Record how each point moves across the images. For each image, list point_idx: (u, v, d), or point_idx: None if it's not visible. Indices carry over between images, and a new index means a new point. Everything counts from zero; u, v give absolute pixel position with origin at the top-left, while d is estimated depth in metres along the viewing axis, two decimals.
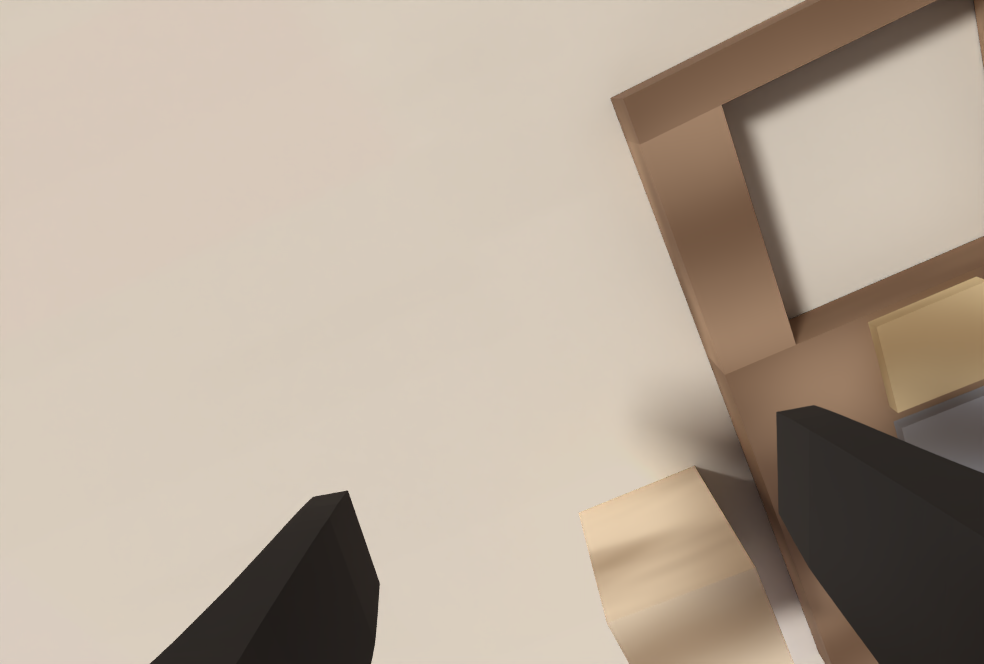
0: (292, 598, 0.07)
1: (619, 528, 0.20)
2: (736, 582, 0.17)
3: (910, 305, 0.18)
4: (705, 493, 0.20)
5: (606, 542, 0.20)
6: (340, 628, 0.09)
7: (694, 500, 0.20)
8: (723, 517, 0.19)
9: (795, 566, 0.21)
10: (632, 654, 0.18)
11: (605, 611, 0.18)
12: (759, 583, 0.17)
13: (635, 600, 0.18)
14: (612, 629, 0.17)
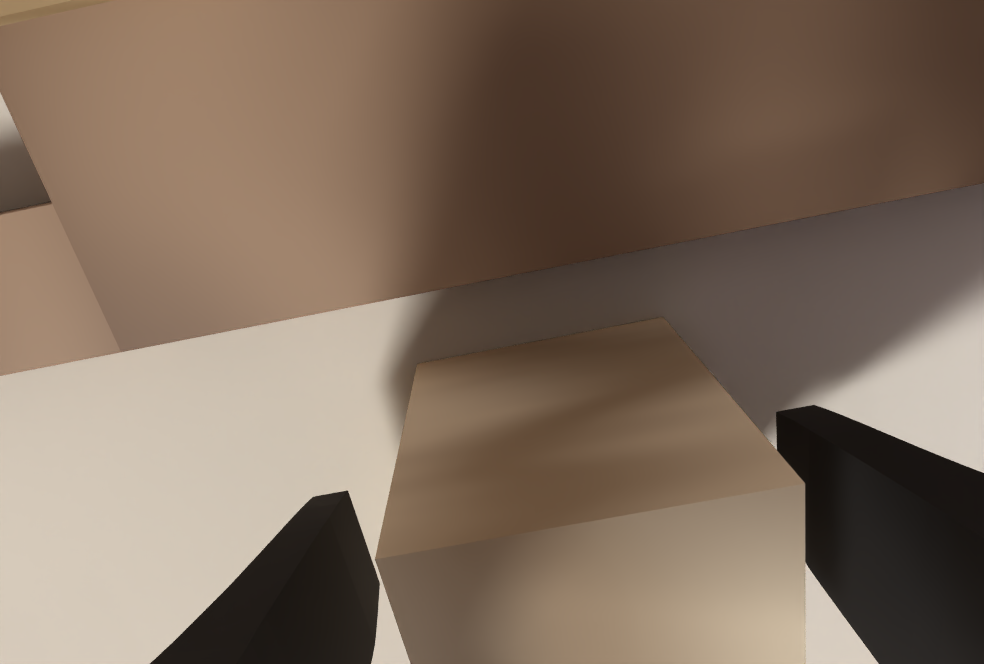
0: (292, 598, 0.07)
1: None
2: (414, 600, 0.07)
3: None
4: None
5: None
6: (340, 628, 0.09)
7: None
8: (400, 450, 0.08)
9: (682, 239, 0.09)
10: None
11: None
12: (432, 555, 0.06)
13: None
14: None
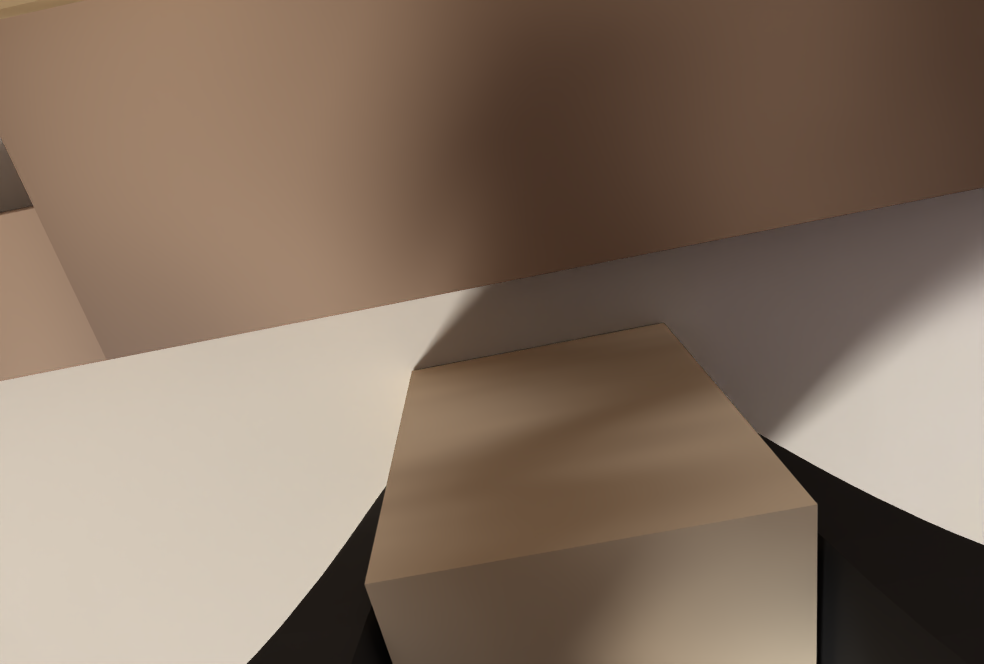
0: None
1: None
2: (406, 626, 0.06)
3: None
4: None
5: None
6: None
7: None
8: (393, 464, 0.08)
9: (683, 244, 0.08)
10: None
11: None
12: (424, 580, 0.06)
13: None
14: None
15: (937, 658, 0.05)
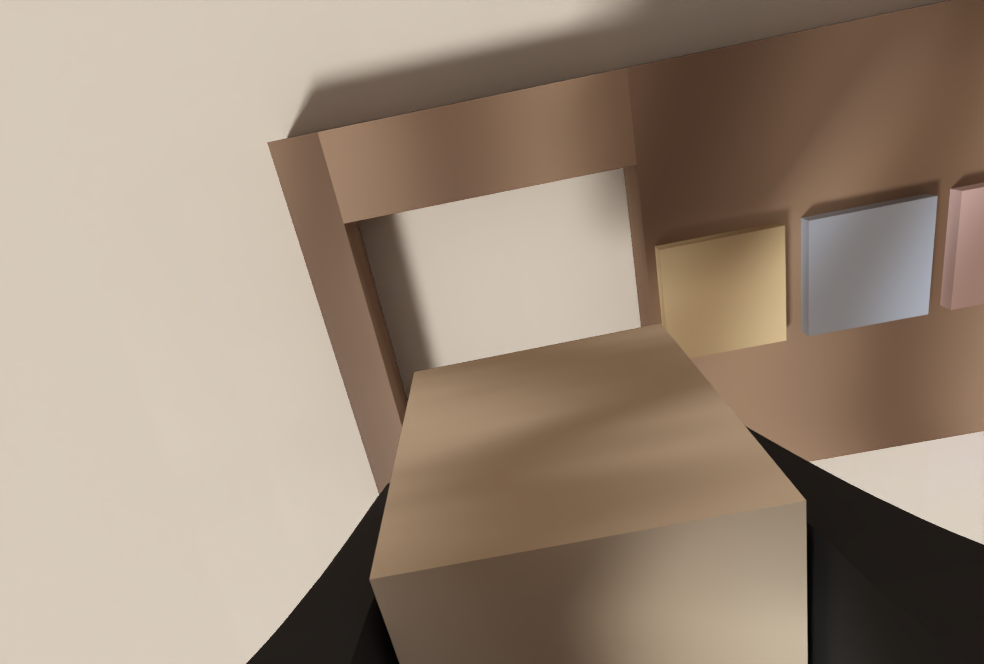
0: None
1: None
2: (409, 620, 0.06)
3: (662, 316, 0.16)
4: None
5: None
6: None
7: None
8: (396, 463, 0.08)
9: (948, 435, 0.18)
10: None
11: None
12: (427, 575, 0.06)
13: None
14: None
15: (937, 658, 0.05)
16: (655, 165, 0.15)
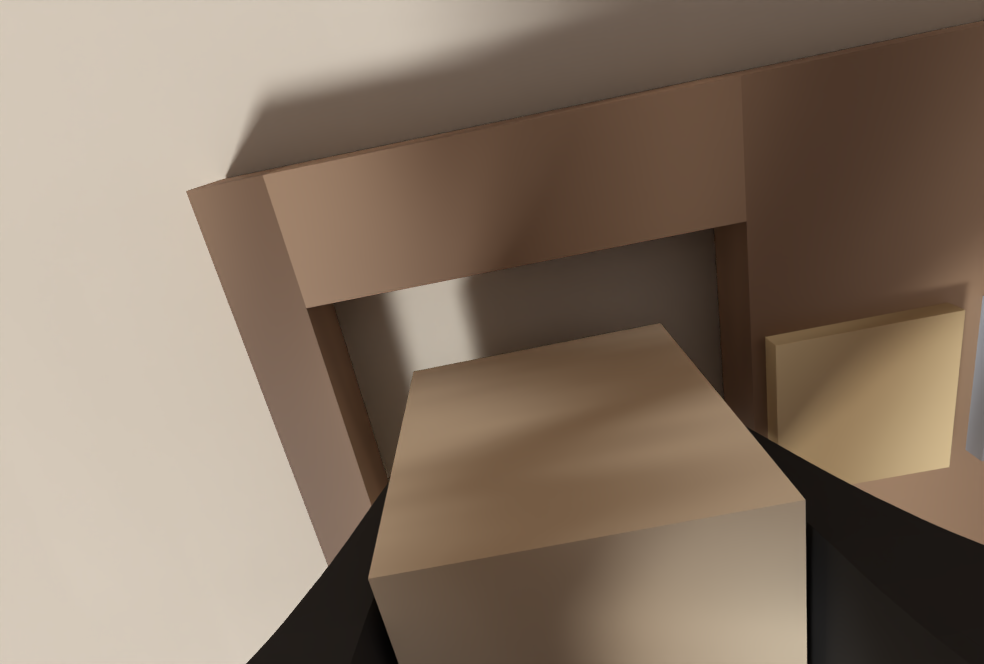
0: None
1: None
2: (408, 619, 0.06)
3: (770, 432, 0.11)
4: None
5: None
6: None
7: None
8: (395, 463, 0.08)
9: None
10: None
11: None
12: (426, 575, 0.06)
13: None
14: None
15: (936, 658, 0.05)
16: (774, 222, 0.10)
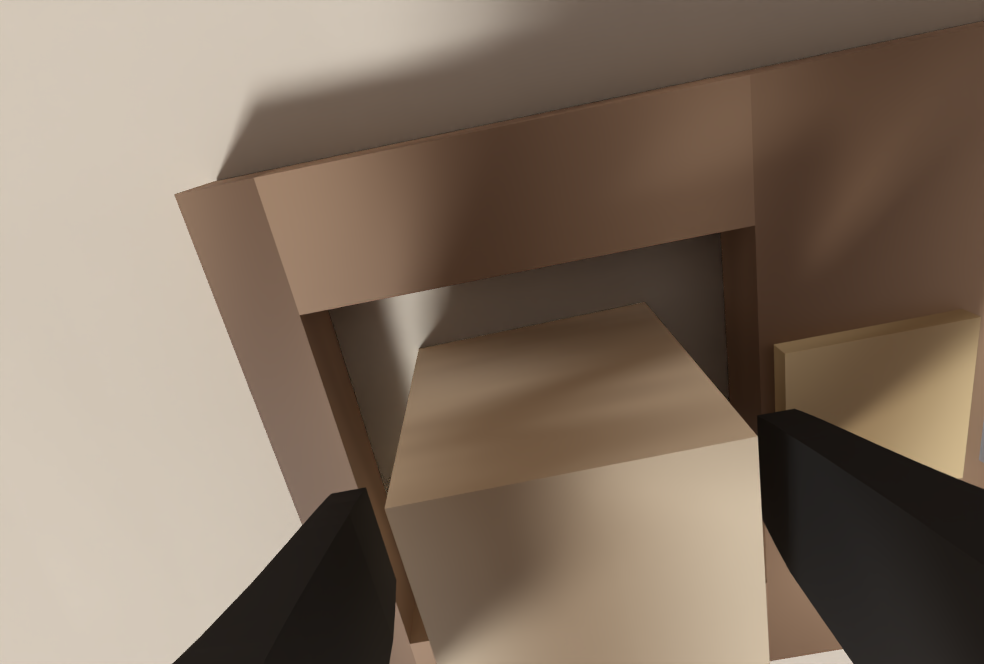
0: (316, 594, 0.07)
1: None
2: (419, 546, 0.07)
3: None
4: None
5: None
6: (361, 625, 0.09)
7: None
8: (404, 421, 0.09)
9: None
10: None
11: None
12: (434, 504, 0.07)
13: None
14: None
15: None
16: (784, 226, 0.10)
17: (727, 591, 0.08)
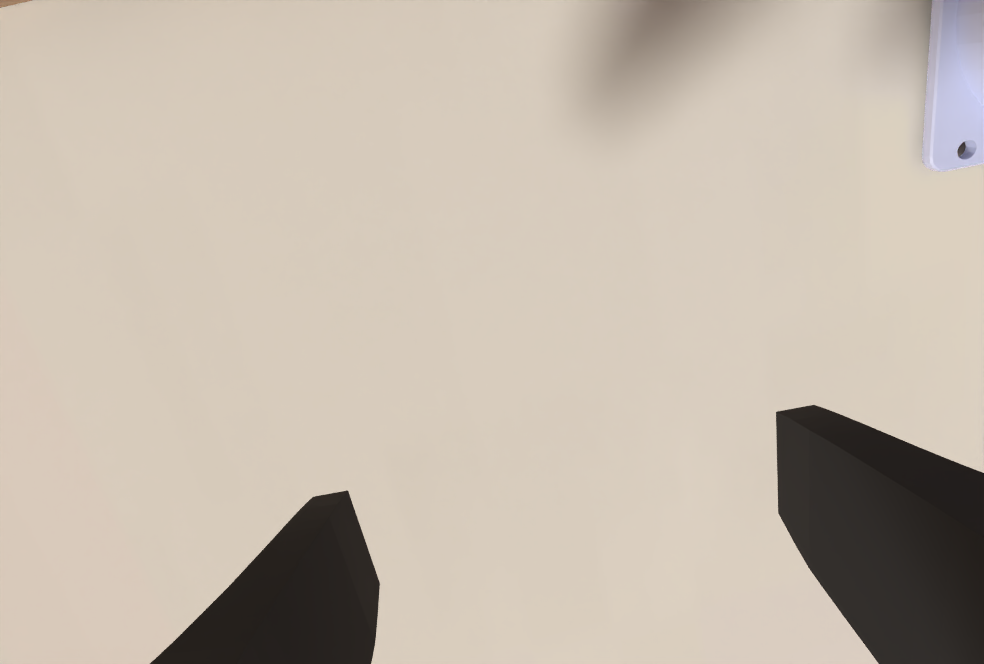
0: (292, 598, 0.07)
1: None
2: None
3: None
4: None
5: None
6: (340, 628, 0.09)
7: None
8: None
9: None
10: None
11: None
12: None
13: None
14: None
15: None
16: None
17: None
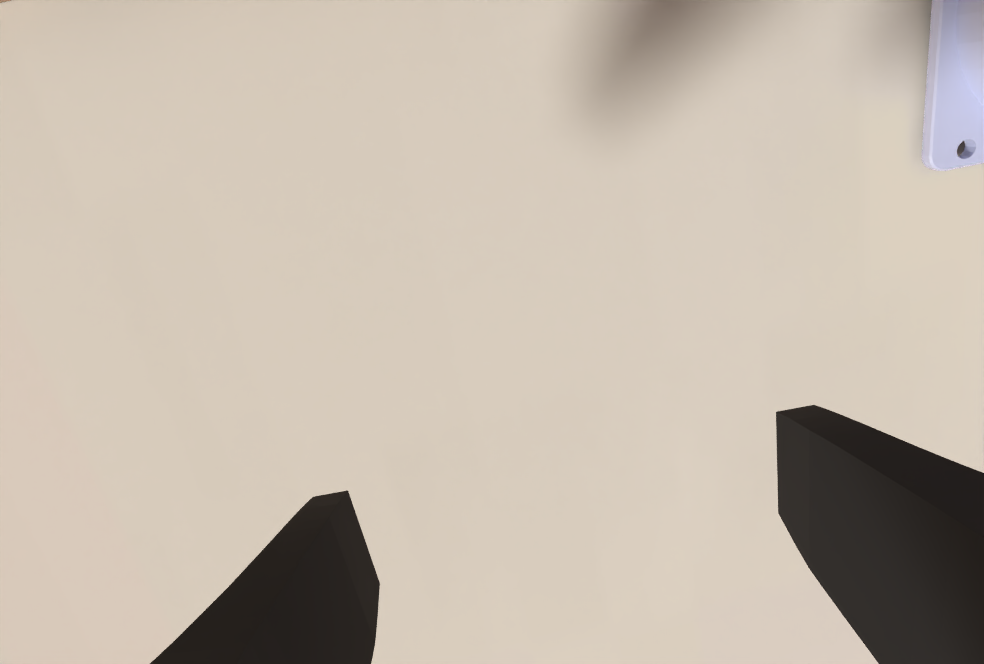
0: (292, 598, 0.07)
1: None
2: None
3: None
4: None
5: None
6: (340, 628, 0.09)
7: None
8: None
9: None
10: None
11: None
12: None
13: None
14: None
15: None
16: None
17: None
